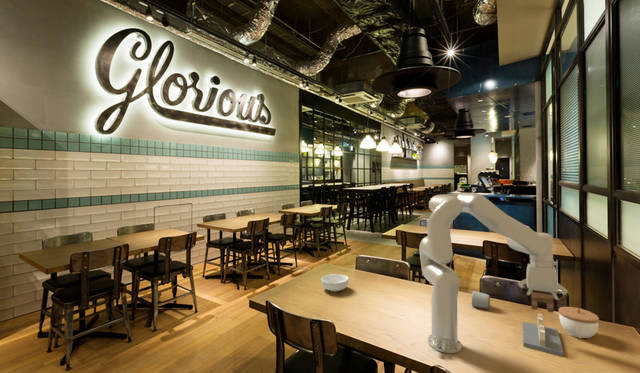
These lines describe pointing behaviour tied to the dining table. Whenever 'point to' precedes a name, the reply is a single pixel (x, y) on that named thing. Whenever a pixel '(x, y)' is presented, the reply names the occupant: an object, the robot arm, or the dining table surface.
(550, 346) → the slate board
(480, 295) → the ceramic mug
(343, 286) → the cereal bowl
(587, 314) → the lidded bowl
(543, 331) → the maple fin
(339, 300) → the dining table surface
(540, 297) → the walnut slotted block
